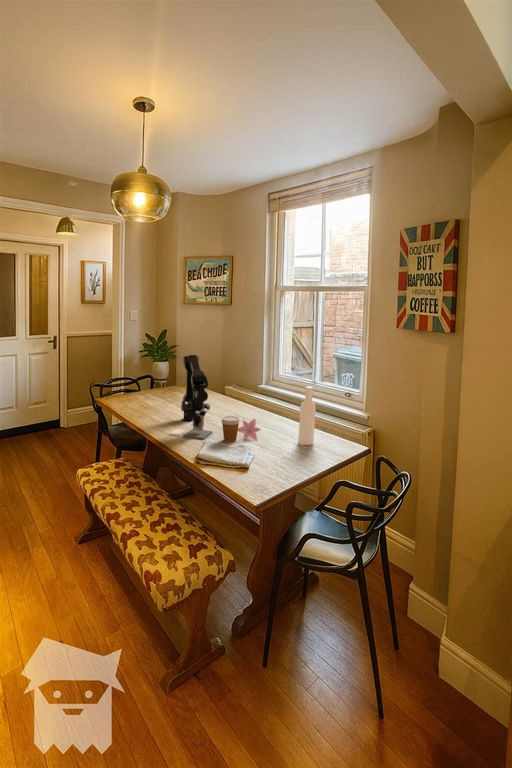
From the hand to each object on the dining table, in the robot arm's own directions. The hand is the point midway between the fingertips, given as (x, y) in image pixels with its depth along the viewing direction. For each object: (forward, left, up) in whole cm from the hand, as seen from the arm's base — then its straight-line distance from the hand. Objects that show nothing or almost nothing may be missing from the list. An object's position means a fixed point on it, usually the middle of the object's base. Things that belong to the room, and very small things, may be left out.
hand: (198, 425), depth 226 cm
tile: (-2, -11, -5) cm, 12 cm away
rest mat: (0, 0, -5) cm, 5 cm away
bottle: (-9, +57, -6) cm, 58 cm away
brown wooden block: (0, 0, -2) cm, 2 cm away
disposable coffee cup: (+2, +19, -6) cm, 20 cm away
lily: (-6, +27, -6) cm, 28 cm away
